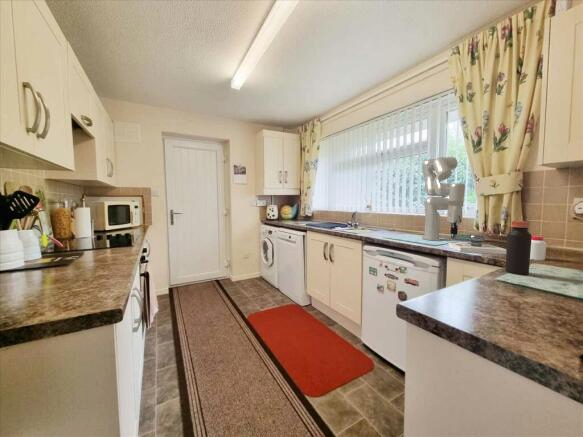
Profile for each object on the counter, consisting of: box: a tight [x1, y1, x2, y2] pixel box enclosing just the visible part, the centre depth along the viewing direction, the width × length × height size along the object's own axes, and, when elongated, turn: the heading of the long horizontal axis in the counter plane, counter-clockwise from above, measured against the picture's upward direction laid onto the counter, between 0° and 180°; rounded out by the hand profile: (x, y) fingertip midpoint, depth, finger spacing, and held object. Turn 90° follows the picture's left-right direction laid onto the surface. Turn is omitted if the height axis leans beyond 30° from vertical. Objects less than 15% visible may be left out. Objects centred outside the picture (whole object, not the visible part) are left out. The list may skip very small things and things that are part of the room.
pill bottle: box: [530, 235, 547, 261], centre depth 118 cm, size 8×8×11 cm
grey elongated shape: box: [450, 233, 486, 246], centre depth 139 cm, size 17×8×6 cm, turn 79°
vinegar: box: [504, 220, 533, 276], centre depth 93 cm, size 7×7×20 cm
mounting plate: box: [448, 242, 507, 255], centre depth 139 cm, size 17×22×3 cm
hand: (453, 233), depth 147 cm, fingers closed
